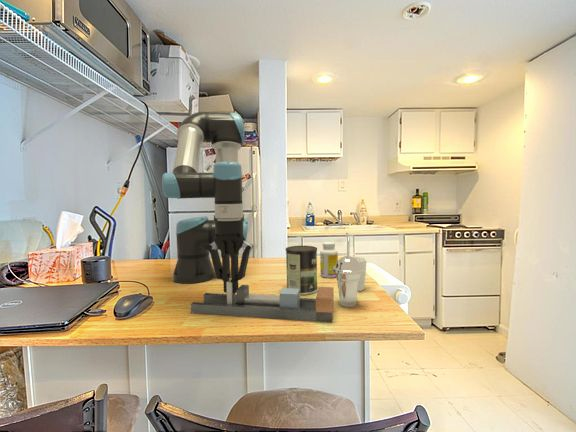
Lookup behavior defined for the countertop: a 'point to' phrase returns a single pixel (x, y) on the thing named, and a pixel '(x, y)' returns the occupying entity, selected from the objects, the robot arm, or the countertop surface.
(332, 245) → the supplement bottle
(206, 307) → the channel
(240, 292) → the silver metal slider block
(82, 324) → the countertop surface
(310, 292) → the coffee can
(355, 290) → the cup with straw
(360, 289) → the white cup
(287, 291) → the block
